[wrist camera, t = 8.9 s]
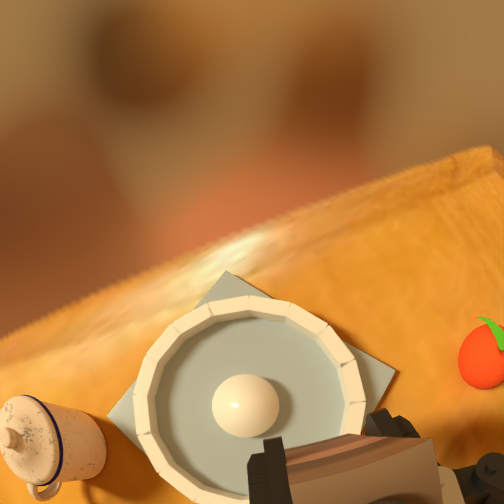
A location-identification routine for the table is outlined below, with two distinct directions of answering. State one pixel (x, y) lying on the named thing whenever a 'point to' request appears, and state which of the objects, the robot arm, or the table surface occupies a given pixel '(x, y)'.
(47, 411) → the teacup with lid
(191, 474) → the groove dish
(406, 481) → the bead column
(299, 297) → the table surface
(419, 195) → the table surface
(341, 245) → the table surface
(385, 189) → the table surface
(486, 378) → the clementine
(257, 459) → the robot arm
